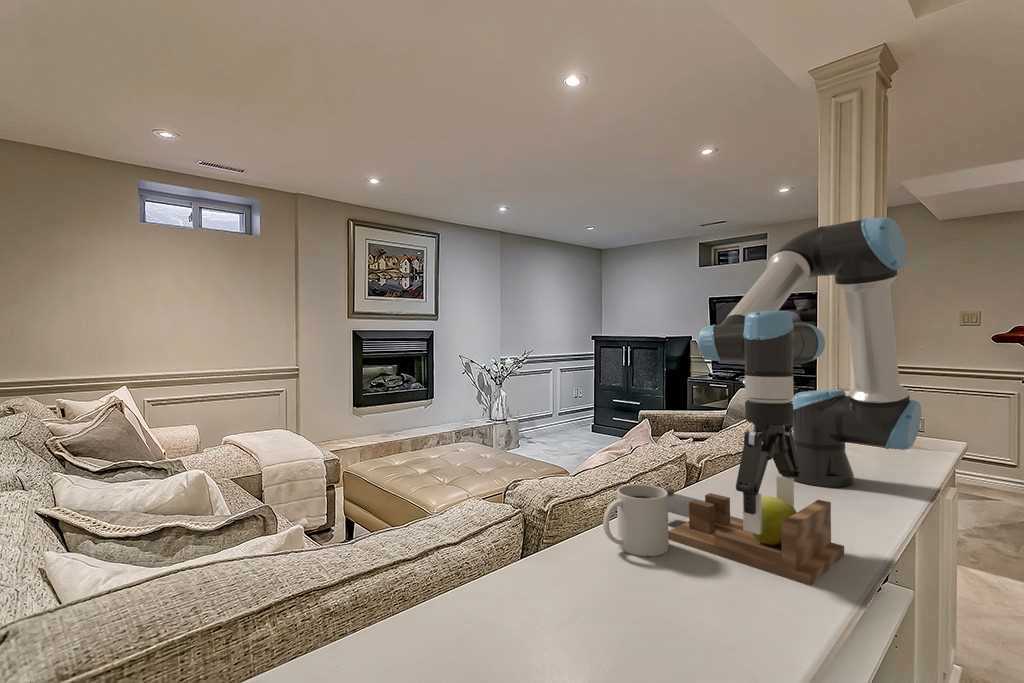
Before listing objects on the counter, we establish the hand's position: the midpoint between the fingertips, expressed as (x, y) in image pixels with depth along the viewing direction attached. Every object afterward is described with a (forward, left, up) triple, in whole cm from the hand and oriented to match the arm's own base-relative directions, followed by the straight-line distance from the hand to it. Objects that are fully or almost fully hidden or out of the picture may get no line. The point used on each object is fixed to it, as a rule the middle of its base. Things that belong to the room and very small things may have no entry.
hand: (769, 521), depth 88 cm
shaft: (0, -16, -3) cm, 16 cm away
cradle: (0, -3, -5) cm, 6 cm away
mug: (+15, -17, -5) cm, 23 cm away
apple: (0, 0, -4) cm, 4 cm away
